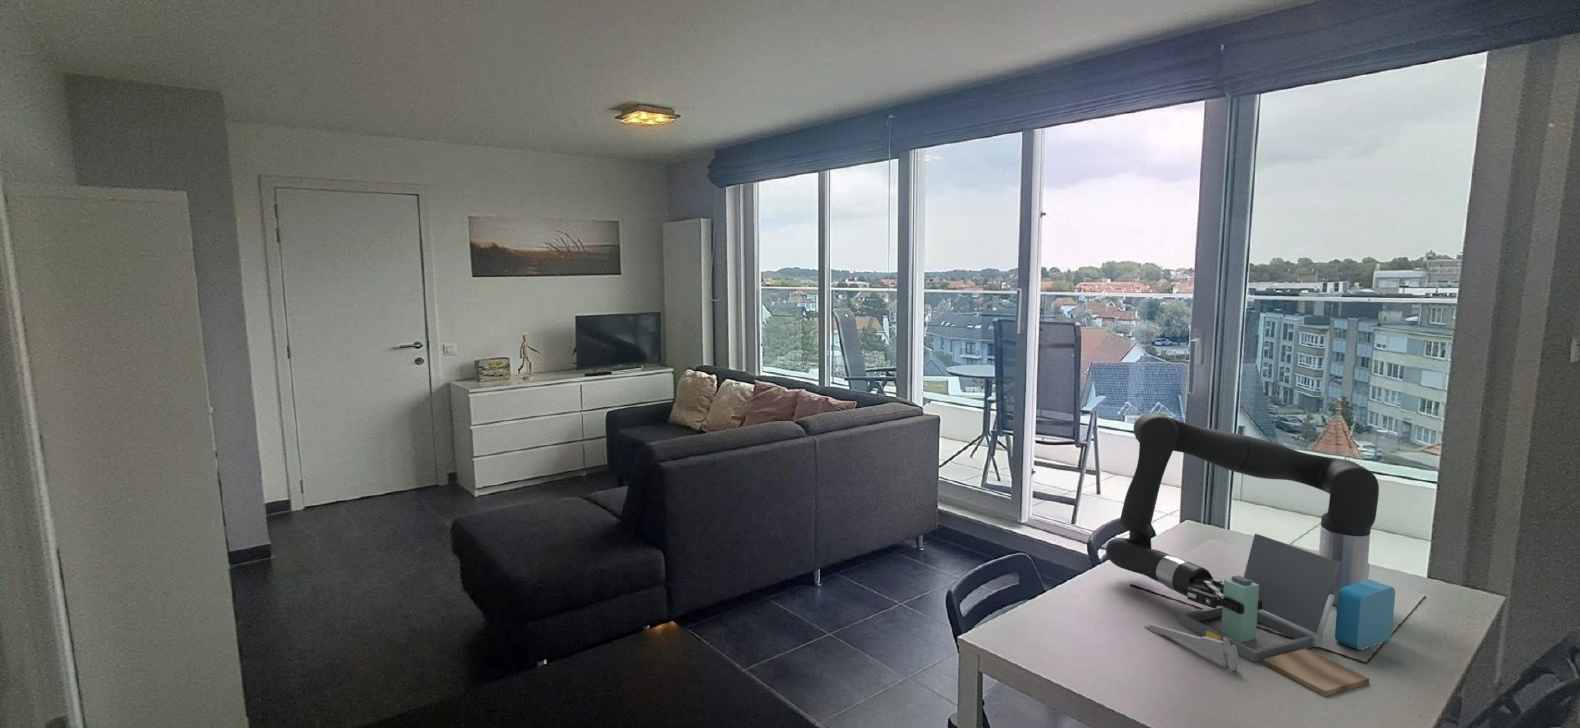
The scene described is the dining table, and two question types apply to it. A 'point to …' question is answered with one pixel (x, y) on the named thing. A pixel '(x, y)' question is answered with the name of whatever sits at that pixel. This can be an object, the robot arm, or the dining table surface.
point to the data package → (1364, 614)
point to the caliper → (1204, 644)
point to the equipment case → (1281, 597)
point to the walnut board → (1315, 672)
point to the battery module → (1244, 624)
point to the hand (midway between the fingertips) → (1251, 607)
